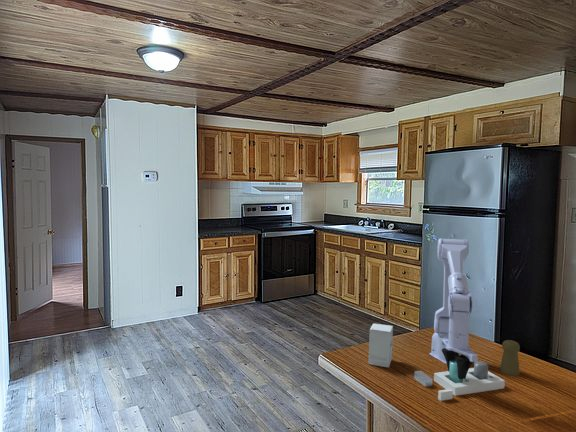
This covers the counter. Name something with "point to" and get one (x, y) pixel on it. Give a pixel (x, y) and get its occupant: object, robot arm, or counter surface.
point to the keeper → (445, 394)
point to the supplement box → (380, 345)
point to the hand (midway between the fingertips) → (456, 375)
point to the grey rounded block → (480, 370)
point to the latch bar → (423, 378)
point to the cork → (510, 358)
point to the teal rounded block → (454, 372)
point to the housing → (469, 383)
